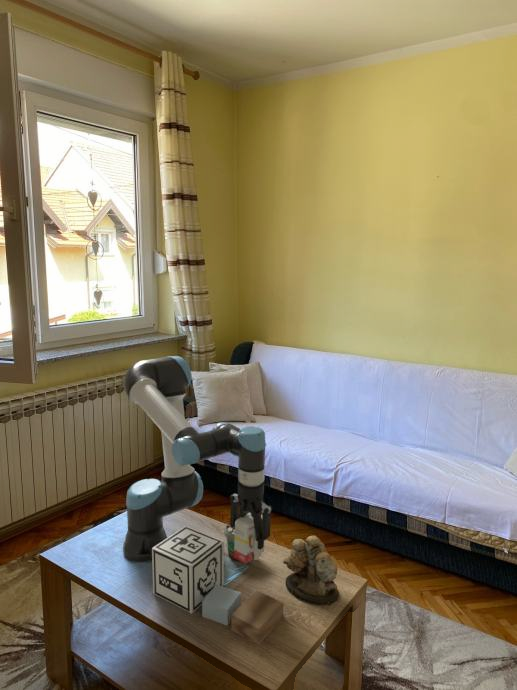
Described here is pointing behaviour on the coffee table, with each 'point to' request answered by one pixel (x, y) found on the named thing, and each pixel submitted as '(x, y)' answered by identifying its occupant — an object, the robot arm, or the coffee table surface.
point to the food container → (230, 541)
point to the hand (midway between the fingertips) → (249, 553)
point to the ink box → (245, 539)
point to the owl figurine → (311, 572)
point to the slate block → (221, 604)
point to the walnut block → (257, 617)
